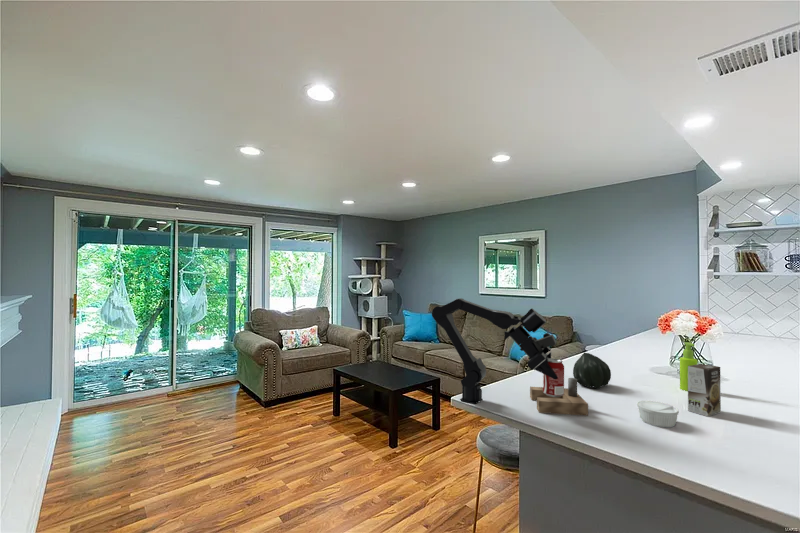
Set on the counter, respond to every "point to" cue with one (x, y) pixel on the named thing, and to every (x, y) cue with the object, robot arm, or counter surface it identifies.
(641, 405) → the ramekin
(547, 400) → the peg board
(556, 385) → the soda can
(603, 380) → the squash
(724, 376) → the counter surface
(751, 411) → the counter surface
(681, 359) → the soap dispenser
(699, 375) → the coffee box
